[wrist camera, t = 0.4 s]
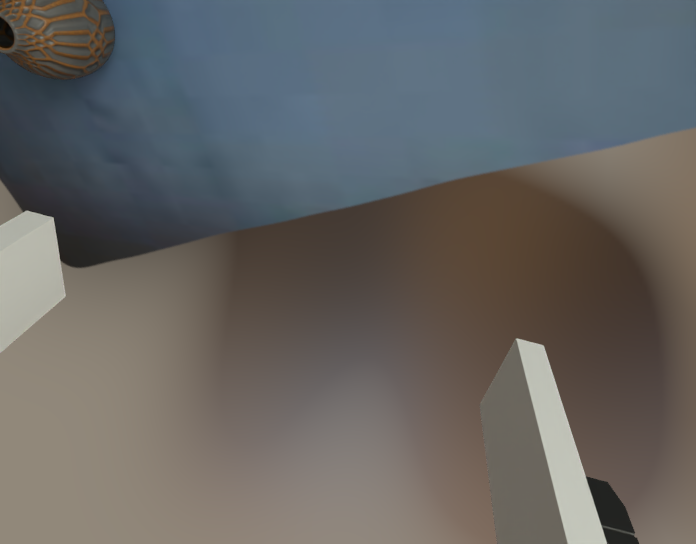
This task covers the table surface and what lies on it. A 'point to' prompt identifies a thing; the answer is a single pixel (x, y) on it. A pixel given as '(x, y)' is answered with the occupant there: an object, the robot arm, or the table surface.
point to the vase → (57, 36)
